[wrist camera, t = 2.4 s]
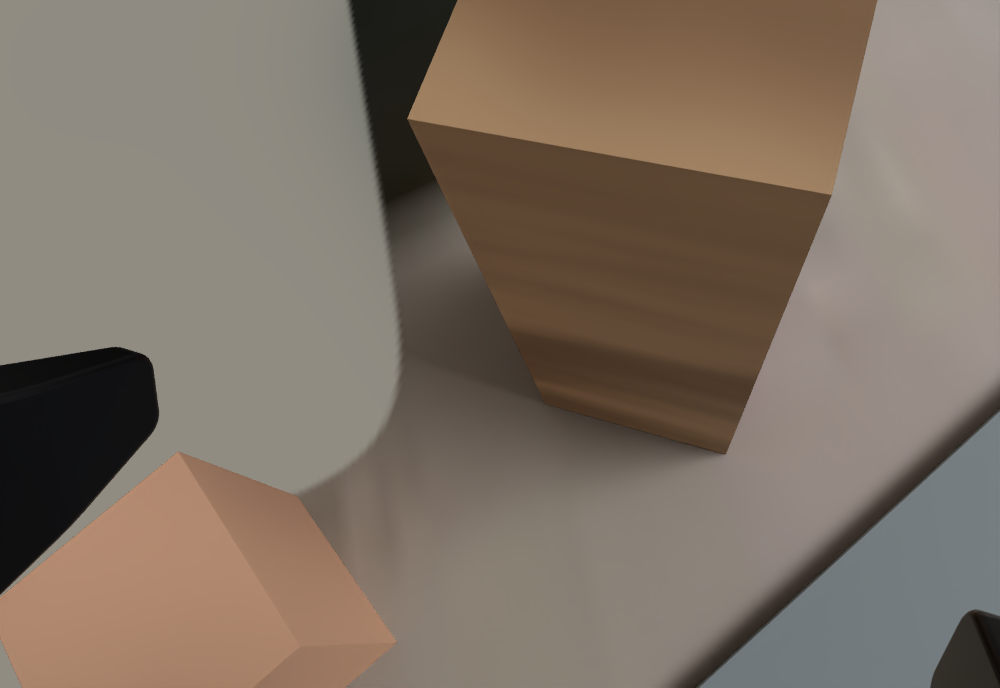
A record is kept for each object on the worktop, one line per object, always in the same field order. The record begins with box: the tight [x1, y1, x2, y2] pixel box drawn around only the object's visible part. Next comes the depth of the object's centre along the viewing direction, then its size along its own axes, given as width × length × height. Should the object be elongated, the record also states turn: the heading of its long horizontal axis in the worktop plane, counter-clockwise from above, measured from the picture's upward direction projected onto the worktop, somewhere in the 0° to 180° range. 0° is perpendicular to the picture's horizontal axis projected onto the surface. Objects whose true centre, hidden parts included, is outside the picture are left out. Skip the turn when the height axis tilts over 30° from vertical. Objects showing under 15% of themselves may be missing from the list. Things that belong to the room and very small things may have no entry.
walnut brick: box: [408, 0, 877, 454], centre depth 15 cm, size 5×5×13 cm
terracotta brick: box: [0, 452, 396, 688], centre depth 18 cm, size 5×5×6 cm
